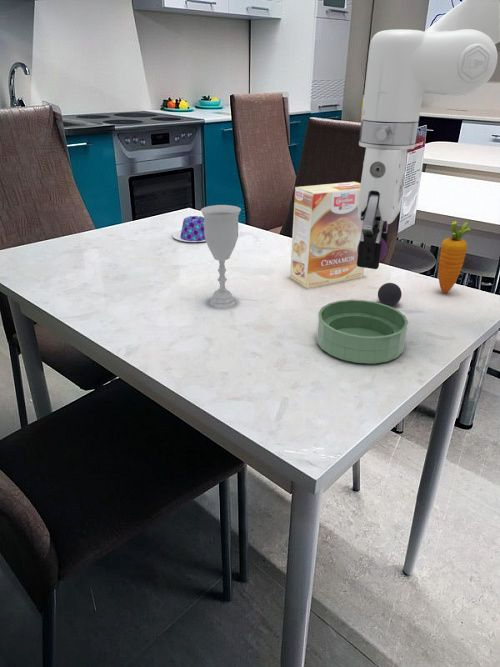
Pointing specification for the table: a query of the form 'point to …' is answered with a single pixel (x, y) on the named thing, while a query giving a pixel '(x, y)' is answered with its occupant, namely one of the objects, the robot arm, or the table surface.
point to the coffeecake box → (326, 234)
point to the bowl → (361, 331)
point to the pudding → (191, 230)
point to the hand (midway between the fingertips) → (370, 261)
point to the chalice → (221, 244)
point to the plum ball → (383, 249)
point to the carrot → (452, 257)
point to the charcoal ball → (389, 294)
